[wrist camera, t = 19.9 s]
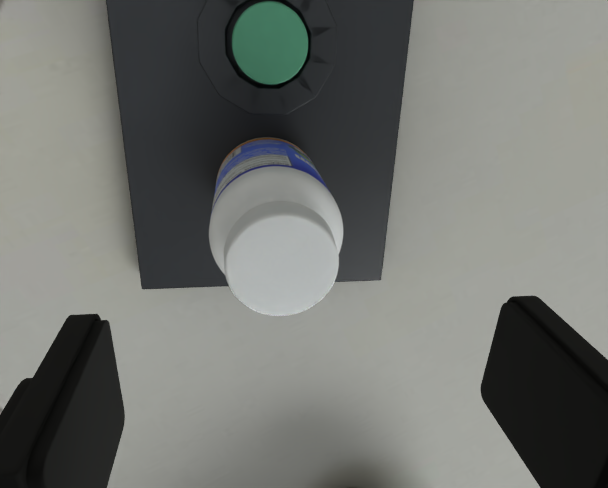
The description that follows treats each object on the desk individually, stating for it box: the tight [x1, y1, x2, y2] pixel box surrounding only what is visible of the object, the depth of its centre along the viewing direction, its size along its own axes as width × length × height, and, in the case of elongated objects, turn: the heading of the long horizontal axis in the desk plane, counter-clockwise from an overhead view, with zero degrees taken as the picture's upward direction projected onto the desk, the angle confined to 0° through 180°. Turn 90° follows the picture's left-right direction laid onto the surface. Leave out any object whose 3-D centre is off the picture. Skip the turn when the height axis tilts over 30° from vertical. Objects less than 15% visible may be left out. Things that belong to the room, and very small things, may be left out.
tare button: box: [232, 1, 308, 85], centre depth 20 cm, size 3×3×2 cm
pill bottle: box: [209, 137, 343, 316], centre depth 20 cm, size 5×5×10 cm
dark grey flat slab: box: [106, 0, 414, 289], centre depth 24 cm, size 16×14×3 cm
